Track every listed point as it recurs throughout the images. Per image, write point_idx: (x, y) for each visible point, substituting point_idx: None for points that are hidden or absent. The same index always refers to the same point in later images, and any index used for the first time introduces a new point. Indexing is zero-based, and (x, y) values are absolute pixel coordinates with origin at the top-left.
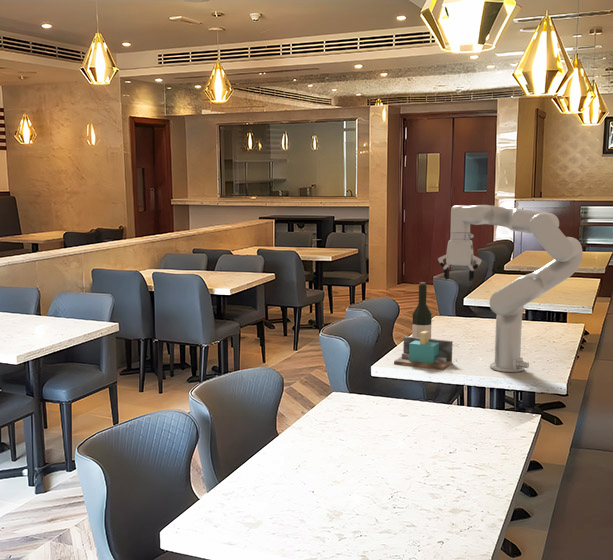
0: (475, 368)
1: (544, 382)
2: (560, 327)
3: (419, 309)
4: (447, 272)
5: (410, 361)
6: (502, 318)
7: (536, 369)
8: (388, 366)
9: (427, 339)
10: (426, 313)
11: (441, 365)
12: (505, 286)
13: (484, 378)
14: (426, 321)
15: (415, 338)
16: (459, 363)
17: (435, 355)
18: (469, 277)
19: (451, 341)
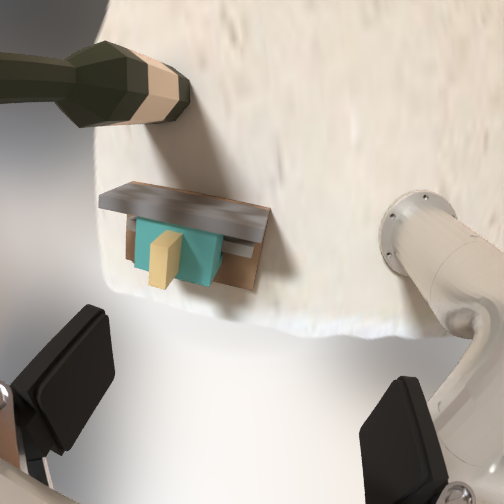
0: (338, 251)
1: None
2: None
3: (68, 114)
4: (78, 422)
5: None
6: (462, 334)
7: (479, 225)
8: (126, 280)
9: (177, 250)
10: (105, 108)
11: (246, 278)
12: (478, 498)
13: (352, 335)
14: (126, 113)
15: (134, 215)
16: (292, 204)
17: (220, 252)
18: (365, 458)
19: (260, 236)
